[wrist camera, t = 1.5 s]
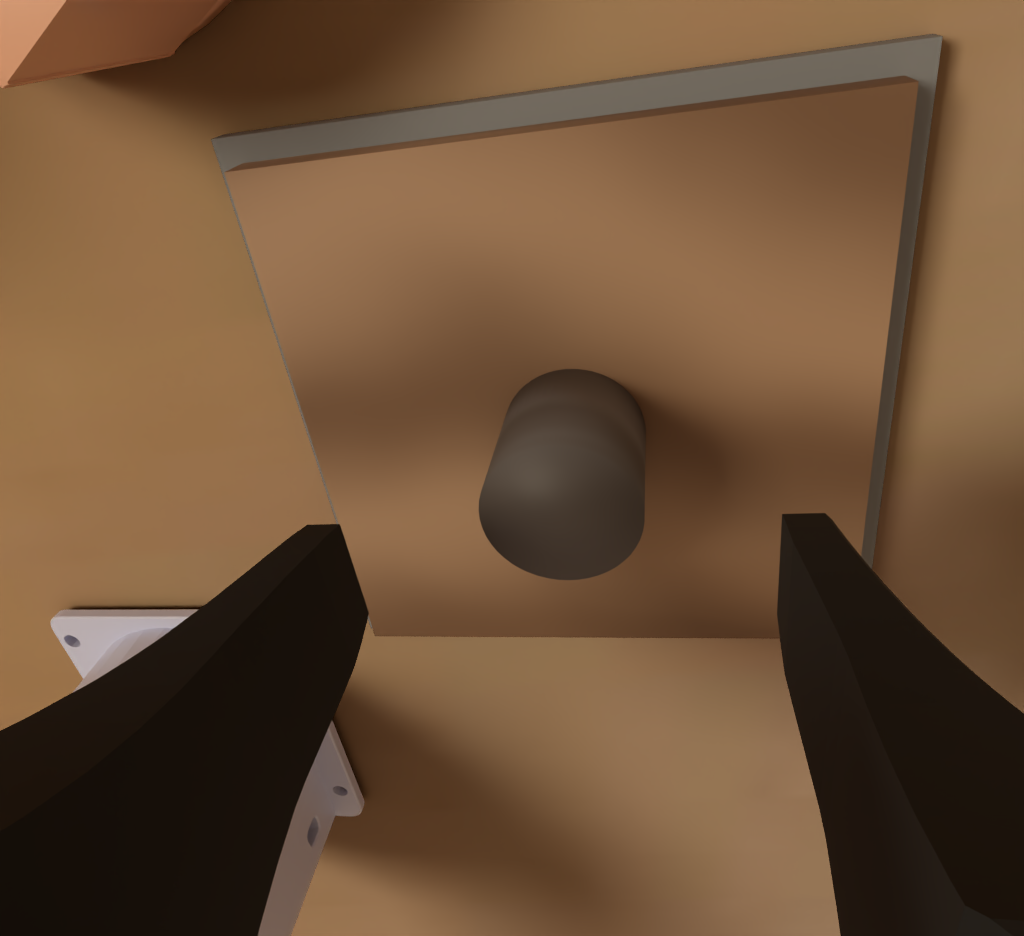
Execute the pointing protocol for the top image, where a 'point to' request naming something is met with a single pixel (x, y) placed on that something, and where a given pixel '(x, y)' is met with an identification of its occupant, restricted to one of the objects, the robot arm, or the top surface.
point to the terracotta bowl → (92, 34)
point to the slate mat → (646, 93)
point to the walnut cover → (591, 354)
